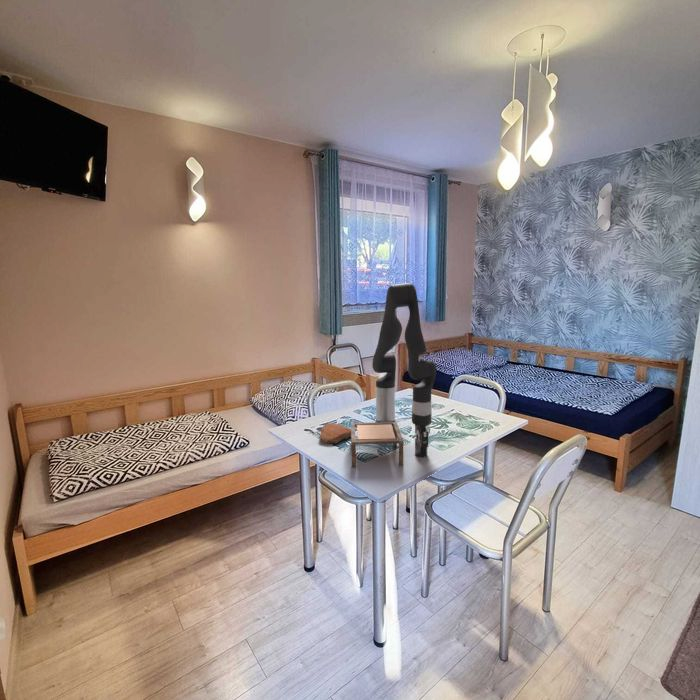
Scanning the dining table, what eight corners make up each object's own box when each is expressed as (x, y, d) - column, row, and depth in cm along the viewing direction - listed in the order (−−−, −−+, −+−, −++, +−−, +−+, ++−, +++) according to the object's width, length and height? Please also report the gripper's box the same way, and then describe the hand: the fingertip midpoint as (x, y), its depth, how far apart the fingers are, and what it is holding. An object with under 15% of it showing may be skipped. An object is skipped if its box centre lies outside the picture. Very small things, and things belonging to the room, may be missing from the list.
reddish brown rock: (308, 426, 169) (332, 422, 180) (308, 441, 169) (332, 435, 180) (332, 430, 159) (355, 425, 171) (332, 446, 159) (355, 439, 171)
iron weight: (413, 451, 154) (414, 437, 153) (425, 451, 154) (426, 437, 153) (416, 457, 149) (416, 442, 148) (428, 457, 149) (428, 442, 148)
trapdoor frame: (351, 445, 161) (350, 423, 159) (396, 444, 161) (396, 422, 159) (352, 467, 142) (351, 442, 140) (403, 466, 142) (403, 440, 141)
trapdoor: (356, 427, 157) (356, 424, 157) (391, 426, 157) (391, 423, 157) (358, 441, 143) (358, 439, 143) (395, 440, 143) (395, 438, 143)
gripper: (409, 405, 156) (408, 443, 158) (415, 418, 141) (414, 459, 144) (427, 405, 156) (426, 442, 158) (435, 417, 142) (434, 458, 144)
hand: (421, 450), depth 151 cm, fingers open, 8 cm apart
